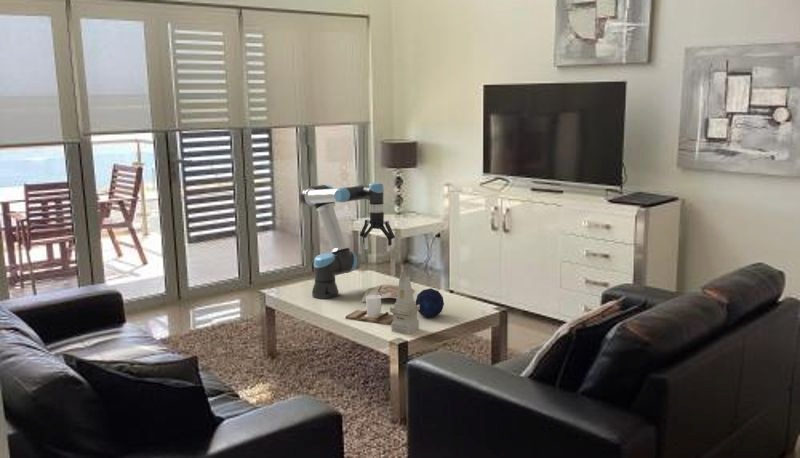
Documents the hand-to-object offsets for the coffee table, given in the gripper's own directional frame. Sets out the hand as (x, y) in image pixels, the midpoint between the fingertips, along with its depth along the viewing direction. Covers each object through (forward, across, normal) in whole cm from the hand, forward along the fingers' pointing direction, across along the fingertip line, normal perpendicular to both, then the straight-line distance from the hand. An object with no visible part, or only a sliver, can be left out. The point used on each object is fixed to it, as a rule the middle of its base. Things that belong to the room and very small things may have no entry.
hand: (377, 250), depth 380 cm
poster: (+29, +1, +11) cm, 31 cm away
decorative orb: (+29, +37, -14) cm, 49 cm away
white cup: (+28, +13, -29) cm, 42 cm away
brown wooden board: (+29, +12, -29) cm, 42 cm away
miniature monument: (+29, +35, -39) cm, 60 cm away
